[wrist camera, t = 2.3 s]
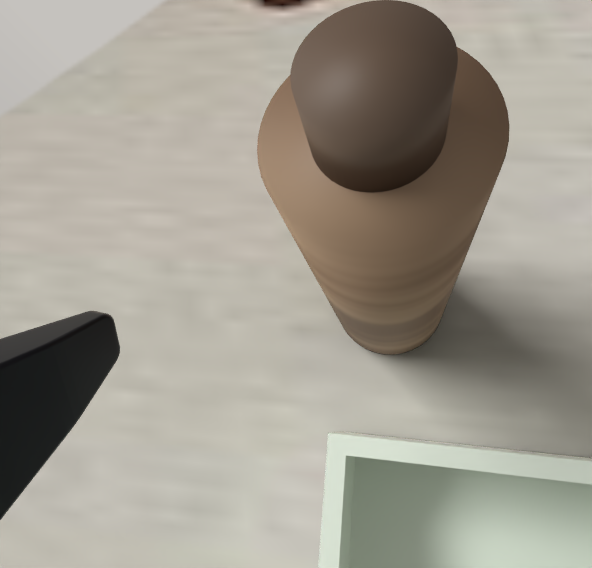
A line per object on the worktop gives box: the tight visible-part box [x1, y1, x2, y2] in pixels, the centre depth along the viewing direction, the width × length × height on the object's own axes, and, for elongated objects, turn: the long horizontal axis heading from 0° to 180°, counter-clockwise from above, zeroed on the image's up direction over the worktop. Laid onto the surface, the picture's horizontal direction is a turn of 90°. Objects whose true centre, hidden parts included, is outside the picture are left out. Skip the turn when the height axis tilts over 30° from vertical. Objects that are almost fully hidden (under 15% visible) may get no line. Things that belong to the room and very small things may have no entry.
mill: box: [257, 0, 509, 354], centre depth 13 cm, size 4×4×14 cm
